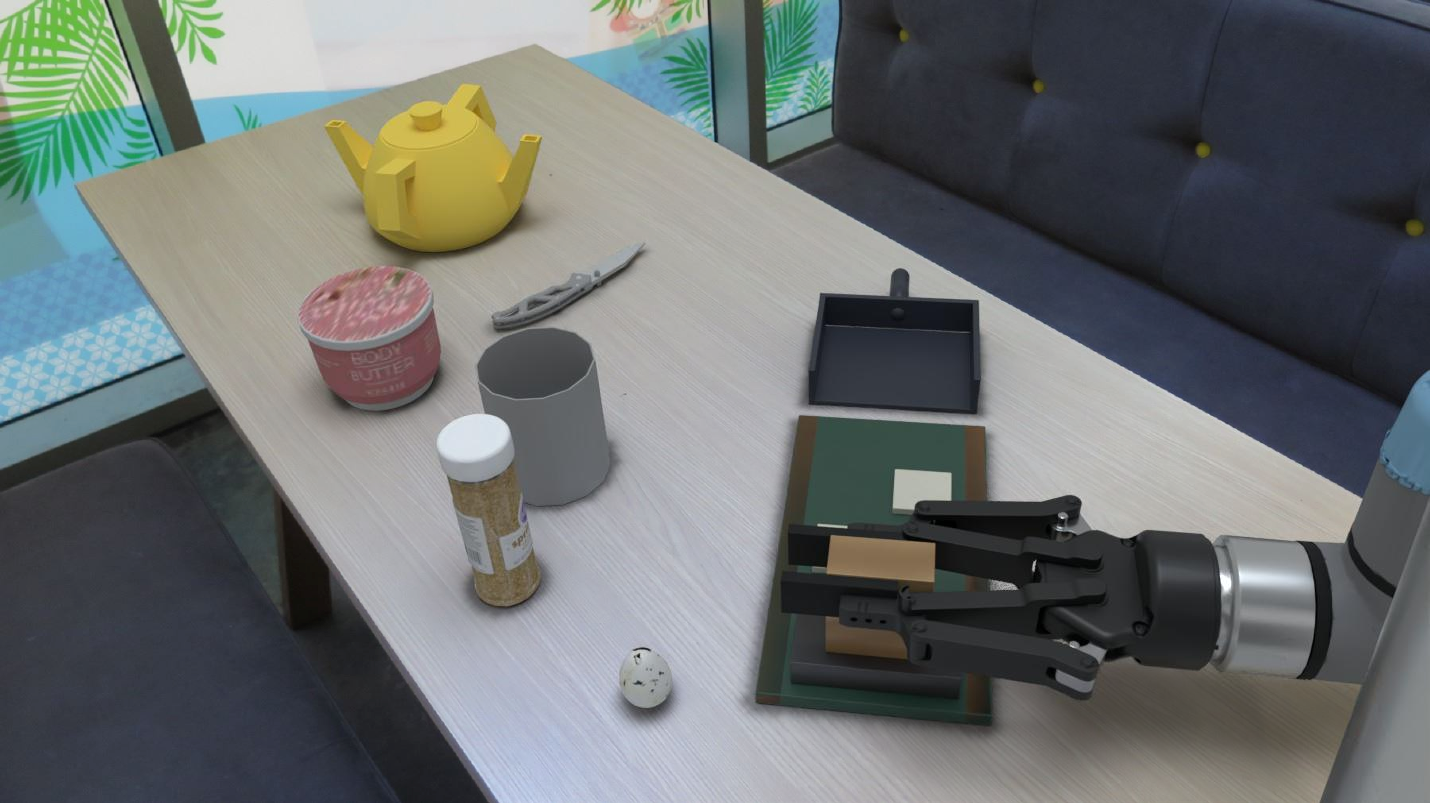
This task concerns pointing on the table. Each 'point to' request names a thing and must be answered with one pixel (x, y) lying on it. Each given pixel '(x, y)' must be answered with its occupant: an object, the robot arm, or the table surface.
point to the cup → (548, 411)
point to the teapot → (438, 173)
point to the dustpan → (896, 351)
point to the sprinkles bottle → (489, 507)
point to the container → (373, 335)
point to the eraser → (869, 653)
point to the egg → (645, 677)
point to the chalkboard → (859, 488)
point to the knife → (575, 284)
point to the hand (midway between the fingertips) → (786, 567)
